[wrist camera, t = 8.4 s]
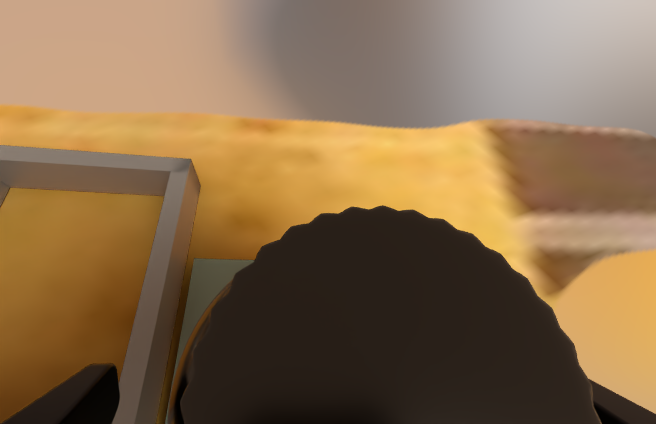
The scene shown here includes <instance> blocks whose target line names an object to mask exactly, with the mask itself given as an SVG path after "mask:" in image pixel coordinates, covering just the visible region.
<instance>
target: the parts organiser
mask: <svg viewBox="0 0 656 424" xmlns="http://www.w3.org/2000/svg"><path fill="white" fill-rule="evenodd" d="M200 186H201V185H200V182H199V180H198V177H197V174H196V171H195V169H194V166H193V163H192V160H191V159H183V158H170V157H156V156H142V155H129V154H115V153H101V152H88V151H74V150H60V149H47V148H33V147H19V146H6V145H0V206H1V204H2V202H3V200H4V198H5V196H6V194H7V192H8V190H9V188H10V187H14V188H31V189H49V190H67V191H85V192H102V193H120V194H138V195H156V196H165V197H164V201H163V205H162V209H161V213H160V217H159V221H158V225H157V229H156V234H155V238H154V242H153V246H152V250H151V254H150V258H149V262H148V266H147V270H146V275H145V279H144V283H143V287H142V291H141V295H140V299H139V303H138V307H137V311H136V315H135V320H134V324H133V328H132V332H131V336H130V340H129V344H128V348H127V352H126V356H125V361H124V365H123V369H122V373H121V377H120V381H119V391H120V401H119V406H118V409H117V412H116V414H115V417H114V420H113V422H112V424H156V420H157V415H158V410H159V404H160V399H161V394H162V388H163V383H164V378H165V372H166V367H167V362H168V356H169V351H170V346H171V341H172V335H173V330H174V325H175V319H176V314H177V309H178V303H179V298H180V293H181V287H182V282H183V277H184V271H185V266H186V261H187V256H188V250H189V245H190V240H191V234H192V229H193V224H194V218H195V213H196V208H197V202H198V197H199V192H200Z"/></svg>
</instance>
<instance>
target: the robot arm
mask: <svg viewBox="0 0 656 424" xmlns="http://www.w3.org/2000/svg"><path fill="white" fill-rule="evenodd" d="M588 380H589V381H590V383H591V385H592V391H593V404H594V408H595V410H596V412H597V414H598V416H599V418H600V421H601V423H602V424H656V414H654V413H653V412H651V411H649V410H647V409H645V408H643V407H641V406H639V405H637V404H635V403H633V402H632V401H630V400H627V399H626V398H624V397H622V396H620V395H618V394H616V393H614V392H613V391H611V390H609V389H607V388H605V387H603V386H601V385H599V384H597V383H595V382H594V381H592V380H590V379H588ZM119 401H120V391H119V383H118V375H117V369H116V366H115V365H114V364H112V363H101V364H91V365H89V366H87V367H85V368H84V369H82V370H81V371H79V372H78V373H76V374H75V375H73V376H72V377H70V378H69V379H67V380H66V381H64V382H63V383H61V384H60V385H58V386H57V387H55V388H54V389H52V390H51V391H49V392H48V393H46V394H45V395H43V396H42V397H40V398H39V399H37V400H36V401H34V402H33V403H31V404H30V405H28V406H26V407H25V408H23V409H22V410H20V411H19V412H17V413H16V414H14V415H13V416H11V417H10V418H8V419H7V420H5V421H4V422H2V423H1V424H112V422H113V420H114V417H115V414H116V412H117V409H118V406H119Z"/></svg>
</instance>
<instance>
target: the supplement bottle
mask: <svg viewBox="0 0 656 424" xmlns="http://www.w3.org/2000/svg"><path fill="white" fill-rule="evenodd" d="M167 424H602V423H601V421H600V418H599V416H598V414H597V412H596V410H595V408H594V404H593V391H592V385H591V383H590V381H589V380H588V378H587V376H586V375H585V373H584V372H583V370H582V368H581V367H580V366H579V363H578V359H577V353H576V350H575V346H574V344H573V342H572V341H571V340H570V338H569V337H568V336H567V335H566V334H565V333H564V332H563V330H562V329H561V328H560V326H559V324H558V321H557V319H556V316H555V314H554V311H553V309H552V308H551V307H550V306H549V305H548V304H547V303H546V302H544V301H543V300H542V299H541V298H539V297H538V296H537V294H536V292H535V290H534V289H533V287H532V285H531V284H530V282H529V280H528V279H527V278H526V277H524V276H523V275H522V274H520V273H518V272H516V271H515V270H513V269H512V268H511V266H510V265H509V264H508V262H507V261H506V260H505V258H504V257H503V256H502V255H501V254H500V253H498V252H496V251H494V250H491V249H489V248H487V247H485V246H484V245H483V244H482V243H481V242H480V240H479V239H478V238H476V237H475V236H474V235H473V234H471V233H468V232H465V231H460V230H457V229H456V228H454V227H453V226H452V225H451V224H449V223H448V222H447V221H445V220H444V219H437V218H434V219H433V218H428V217H426V216H424V215H423V214H421V213H419V212H417V211H415V210H403V211H397V210H395V209H392V208H389V207H386V206H378V207H375V208H373V209H369V210H368V209H363V208H358V207H350V208H348V209H346V210H344V211H343V212H341V213H339V214H335V213H323V214H320V215H318V216H317V217H316V218H314V220H313V221H312V222H310V223H309V224H301V225H296V226H292V227H290V228H289V229H288V230H287V231H286V232H285V234H284V235H283V236H282V238H281V239H280V240H277V241H274V242H271V243H269V244H267V245H264V246H262V247H261V249H260V250H259V252H258V253H257V256H256V259H255V260H254V262H253V263H251V264H249V265H248V266H246V267H244V268H243V269H241V270H240V271H238V272H237V273H235V275H234V278H233V279H232V280H231V281H230V282H229V283H228V284H227V285H226V286H225V287H224V288H223V289H222V290H221V291H220V292H219V293H218V294H217V295H216V297H215V298H214V299H213V300H212V302H211V303H210V304H209V306H208V307H207V308H206V310H205V311H204V312H203V314H202V316H201V317H200V319H199V320H198V322H197V324H196V325H195V327H194V329H193V331H192V333H191V335H190V337H189V339H188V341H187V343H186V346H185V348H184V350H183V353H182V355H181V358H180V361H179V364H178V367H177V370H176V374H175V377H174V381H173V386H172V391H171V395H170V402H169V410H168V420H167Z"/></svg>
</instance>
